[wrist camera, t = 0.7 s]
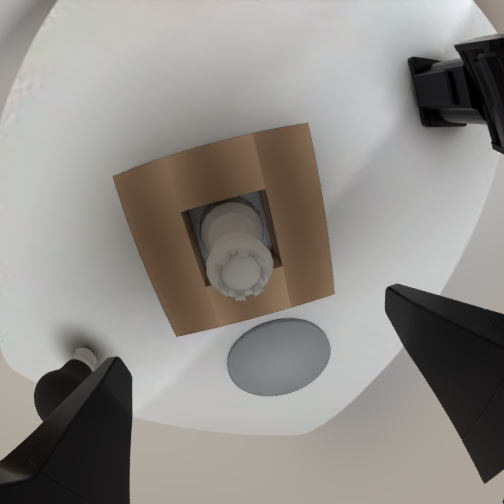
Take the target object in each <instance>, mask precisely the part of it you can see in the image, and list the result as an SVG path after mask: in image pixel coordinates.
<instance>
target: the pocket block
mask: <svg viewBox="0 0 504 504" xmlns="http://www.w3.org/2000/svg"><path fill="white" fill-rule="evenodd" d="M113 179H114V182H115V186H116V189H117V192H118V195H119V198H120V201H121V204H122V207H123V210H124V213H125V216H126V219H127V222H128V224H129V227H130V230H131V233H132V235H133V238H134V241H135V243H136V246H137V249H138V251H139V254H140V256H141V259H142V261H143V264H144V266H145V269H146V271H147V273H148V276H149V278H150V281H151V283H152V285H153V288H154V290H155V292H156V294H157V297H158V299H159V301H160V303H161V305H162V308H163V310H164V312H165V314H166V316H167V318H168V320H169V322H170V324H171V327H172V329H173V331H174V333H175V335H176V337H178V336H183V335H187V334H192V333H196V332H200V331H205V330H209V329H213V328H217V327H221V326H225V325H229V324H233V323H237V322H241V321H245V320H248V319H252V318H256V317H260V316H263V315H267V314H270V313H274V312H278V311H281V310H285V309H288V308H291V307H295V306H298V305H301V304H305V303H308V302H311V301H314V300H318V299H321V298H324V297H327V296H330V295H333V294H335V291H334V281H333V271H332V262H331V254H330V246H329V238H328V231H327V224H326V217H325V210H324V204H323V198H322V192H321V186H320V180H319V175H318V169H317V164H316V159H315V154H314V149H313V144H312V139H311V134H310V130H309V125H308V123H303V124H297V125H292V126H286V127H281V128H275V129H270V130H265V131H261V132H256V133H251V134H247V135H243V136H238V137H234V138H230V139H226V140H222V141H218V142H215V143H211V144H207V145H204V146H200V147H197V148H193V149H190V150H186V151H183V152H180V153H177V154H173V155H170V156H167V157H164V158H161V159H158V160H155V161H152V162H149V163H147V164H144V165H141V166H138V167H135V168H133V169H130V170H127V171H125V172H122V173H120V174H117V175H114V176H113ZM259 190H260V193H261V197H262V202H263V206H264V210H265V215H266V219H267V224H268V228H269V232H270V237H271V241H272V246H273V250H270V253H271V256H272V259H273V262H274V263H273V272H272V275H271V277H270V279H269V282H267V284H266V285H265V286H264V287H263V290H264V291H263V292H261V293H260V294H259V295H258V296H256V297H255V295H254V294H251V295H249V296H246V297H245V299H246V301H235V297H231V296H228V295H227V296H226V297H225V296H224V295H223V294H222V293H220V292H219V291H218V290H217V289H216V288H215V287H214V286H212V285H211V283H210V281H209V278H208V276H207V274H206V265H205V262H204V259H203V256H202V253H201V250H200V247H199V244H198V241H197V237H196V234H195V231H194V228H193V225H192V222H191V218H190V215H189V212H188V210H189V209H193V208H196V207H200V206H203V205H207V204H210V203H214V202H217V201H221V200H225V199H228V198H232V197H236V196H240V195H243V194H247V193H251V192H255V191H259Z"/></svg>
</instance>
